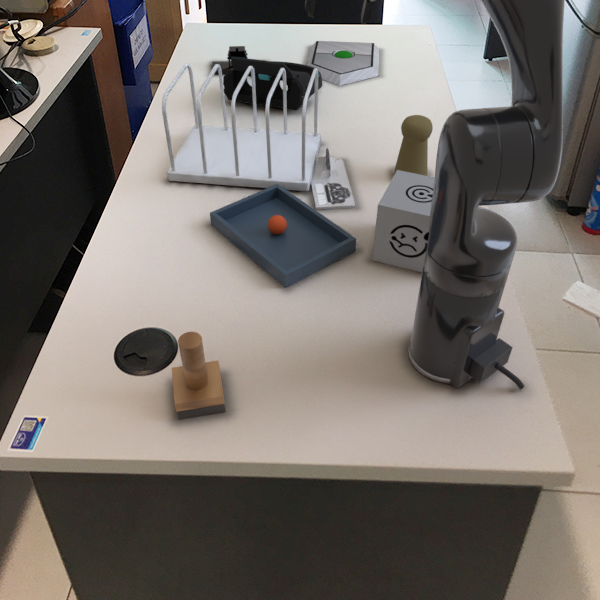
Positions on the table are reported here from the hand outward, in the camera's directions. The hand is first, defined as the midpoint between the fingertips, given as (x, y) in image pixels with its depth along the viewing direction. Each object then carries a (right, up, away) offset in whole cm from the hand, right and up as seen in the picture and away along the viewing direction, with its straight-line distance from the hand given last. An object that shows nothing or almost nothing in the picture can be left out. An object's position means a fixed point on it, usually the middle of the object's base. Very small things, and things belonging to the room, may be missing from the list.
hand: (337, 17), depth 100 cm
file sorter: (-15, -20, +15) cm, 29 cm away
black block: (-20, +9, +47) cm, 52 cm away
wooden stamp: (-18, -57, -25) cm, 65 cm away
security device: (+4, +10, +48) cm, 49 cm away
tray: (-9, -35, -2) cm, 36 cm away
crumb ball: (-9, -33, -2) cm, 35 cm away
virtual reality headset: (-11, 0, +37) cm, 38 cm away
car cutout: (-1, -25, +10) cm, 27 cm away
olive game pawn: (+14, -23, +12) cm, 29 cm away
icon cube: (+11, -37, -4) cm, 39 cm away
